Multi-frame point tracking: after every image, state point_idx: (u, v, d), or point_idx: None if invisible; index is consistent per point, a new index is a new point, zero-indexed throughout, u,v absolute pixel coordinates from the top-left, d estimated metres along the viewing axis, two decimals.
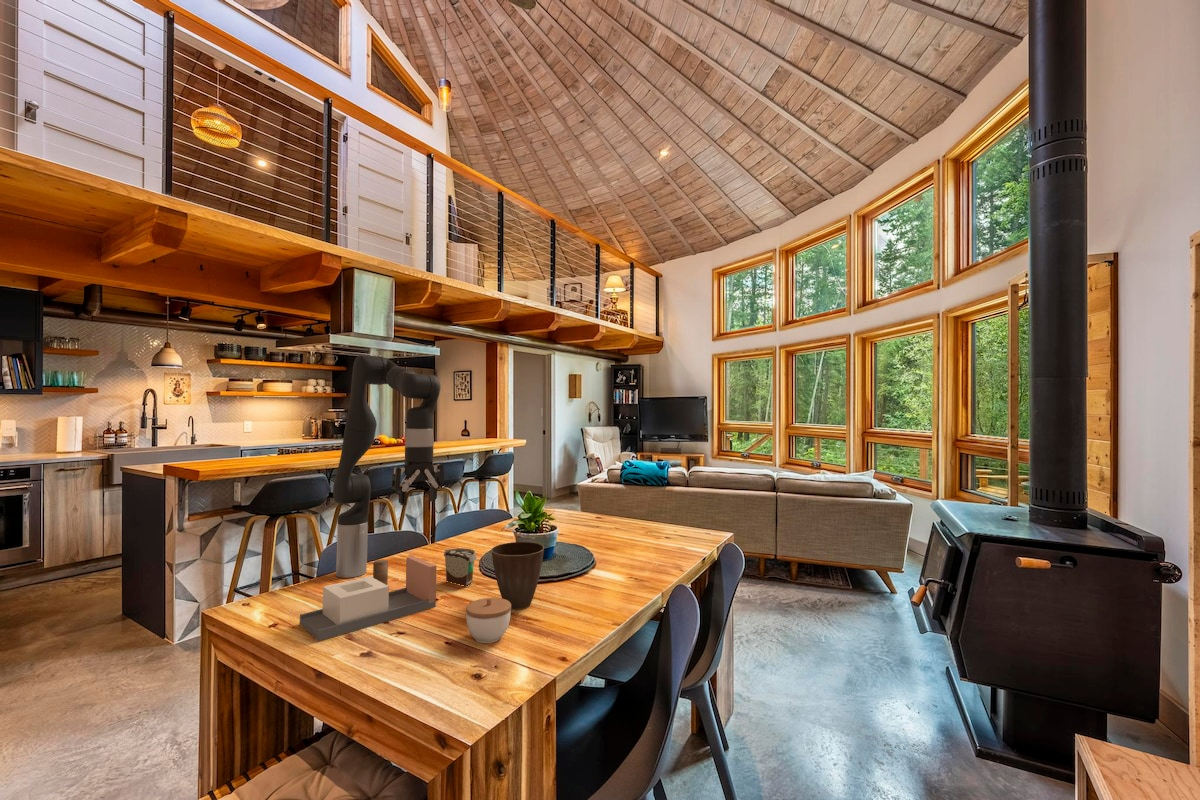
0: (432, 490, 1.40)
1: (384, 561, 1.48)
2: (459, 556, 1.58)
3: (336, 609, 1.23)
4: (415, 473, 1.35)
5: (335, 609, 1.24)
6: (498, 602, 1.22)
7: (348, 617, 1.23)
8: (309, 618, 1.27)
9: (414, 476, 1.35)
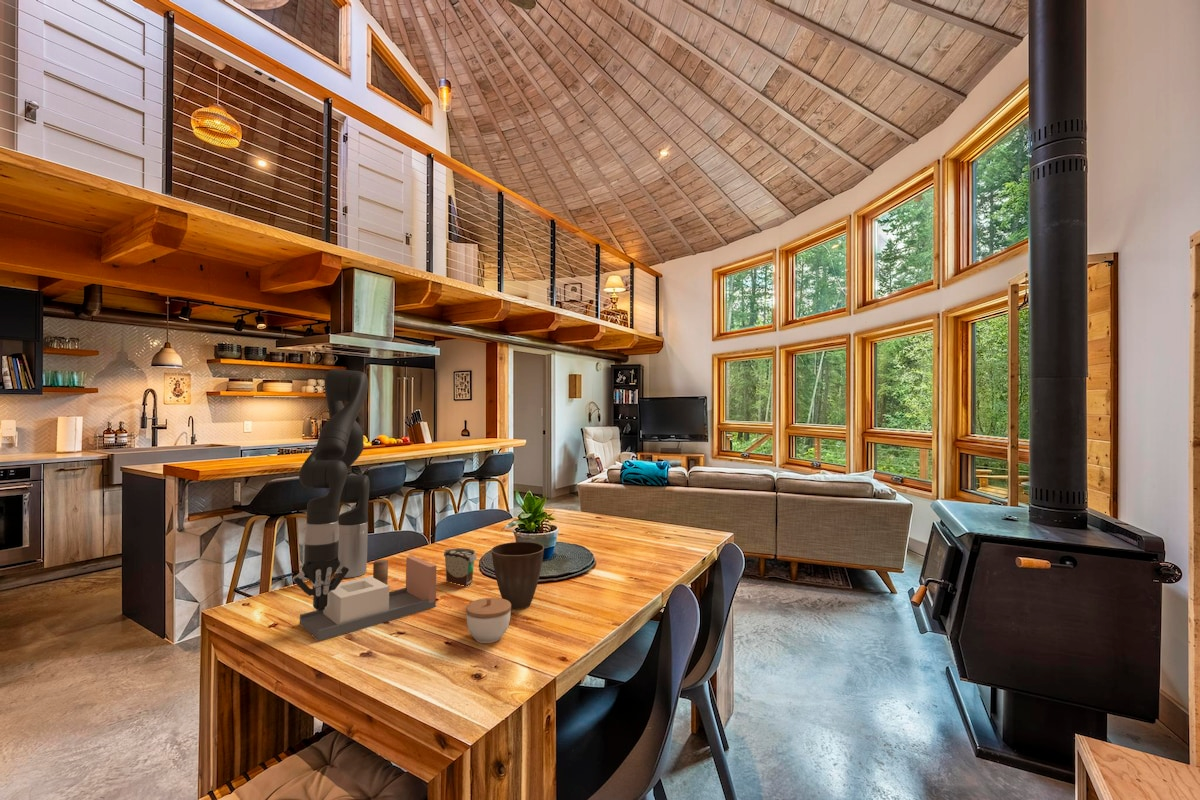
0: None
1: (384, 561, 1.48)
2: (459, 556, 1.58)
3: (336, 609, 1.23)
4: (317, 574, 1.22)
5: (335, 609, 1.24)
6: (498, 602, 1.22)
7: (348, 617, 1.23)
8: (309, 618, 1.27)
9: (318, 577, 1.22)
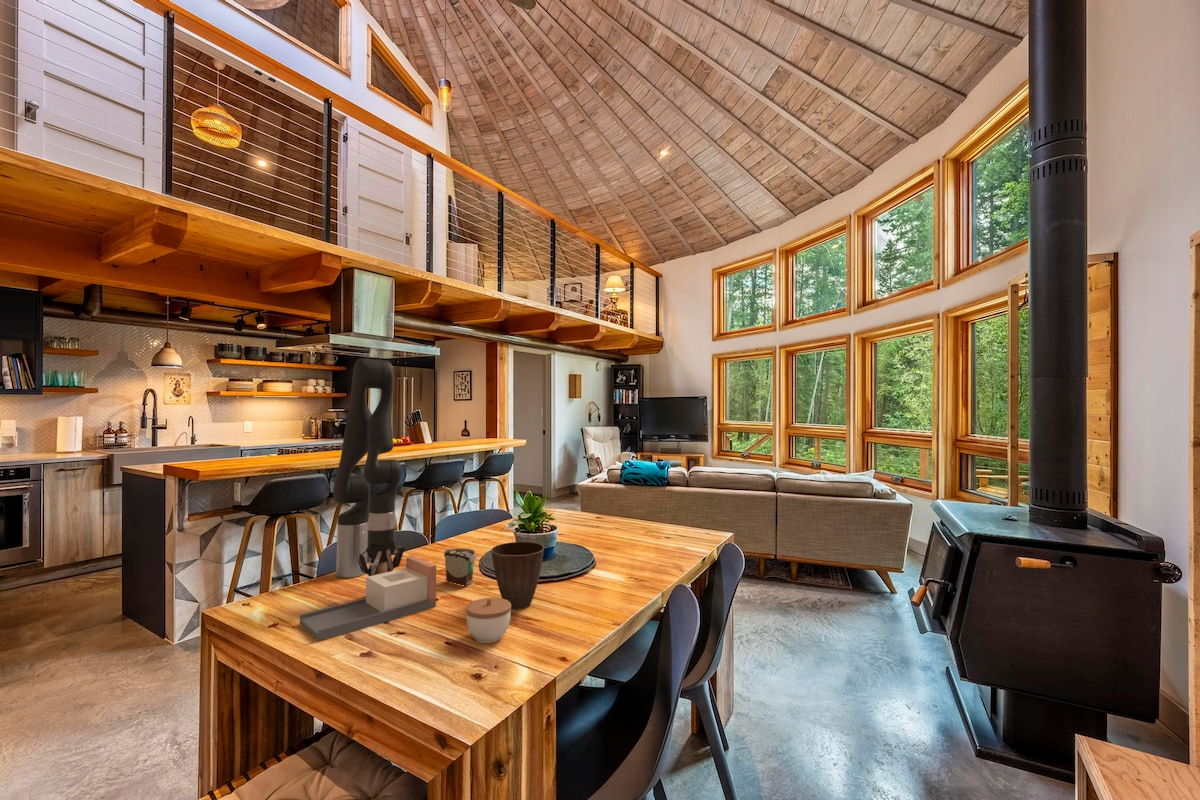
0: None
1: (384, 561, 1.48)
2: (459, 556, 1.58)
3: (380, 597, 1.31)
4: (377, 555, 1.45)
5: (379, 598, 1.32)
6: (498, 602, 1.22)
7: (392, 605, 1.31)
8: (309, 618, 1.27)
9: (378, 558, 1.46)
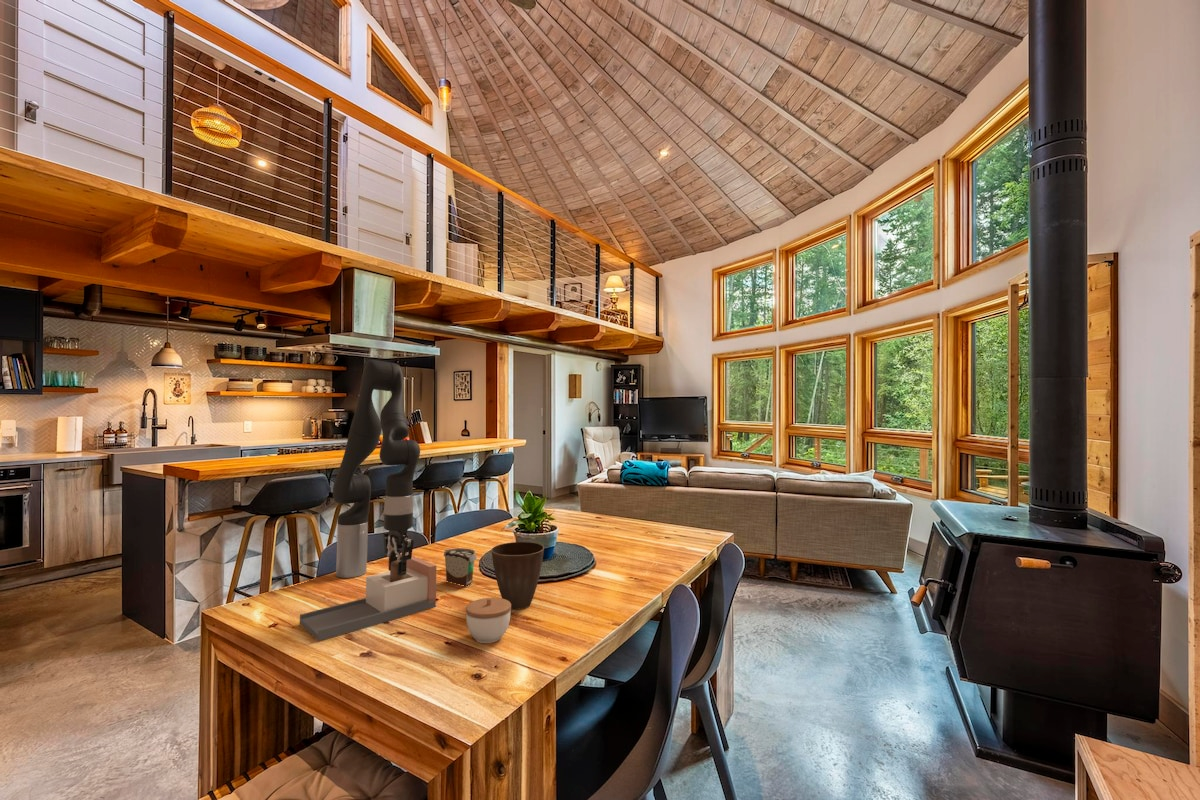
0: None
1: (397, 563, 1.37)
2: (459, 556, 1.58)
3: (380, 597, 1.31)
4: (388, 539, 1.38)
5: (379, 598, 1.32)
6: (498, 602, 1.22)
7: (392, 605, 1.31)
8: (309, 618, 1.27)
9: (389, 542, 1.38)
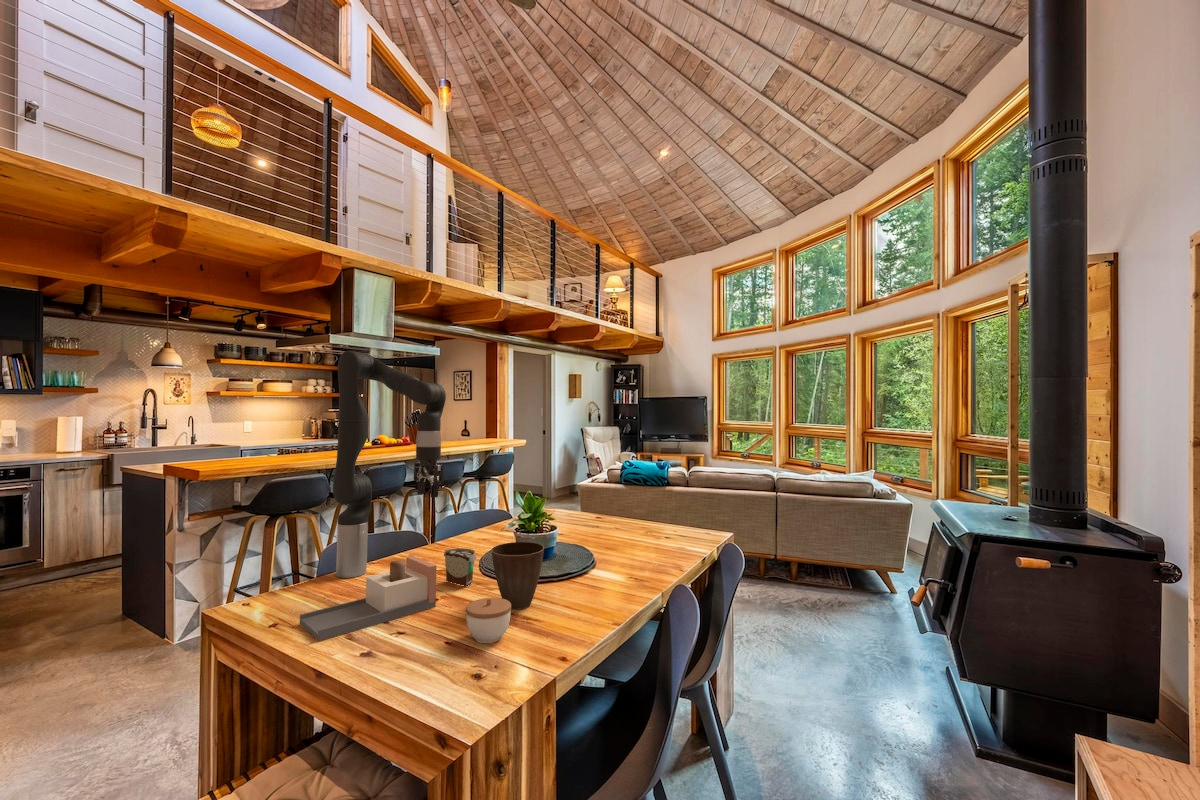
0: None
1: (397, 563, 1.37)
2: (459, 556, 1.58)
3: (380, 597, 1.31)
4: (419, 469, 1.58)
5: (379, 598, 1.32)
6: (498, 602, 1.22)
7: (392, 605, 1.31)
8: (309, 618, 1.27)
9: (419, 471, 1.58)
